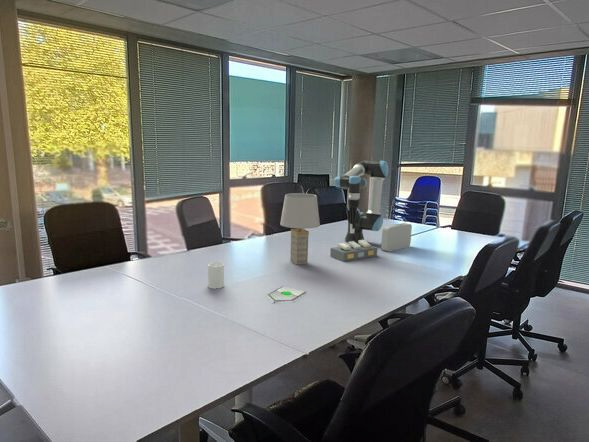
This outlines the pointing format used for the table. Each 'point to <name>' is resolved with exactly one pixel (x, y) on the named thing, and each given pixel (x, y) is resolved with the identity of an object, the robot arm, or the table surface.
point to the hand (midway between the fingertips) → (352, 233)
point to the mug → (215, 275)
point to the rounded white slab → (396, 237)
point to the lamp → (300, 223)
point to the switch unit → (353, 253)
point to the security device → (285, 294)
